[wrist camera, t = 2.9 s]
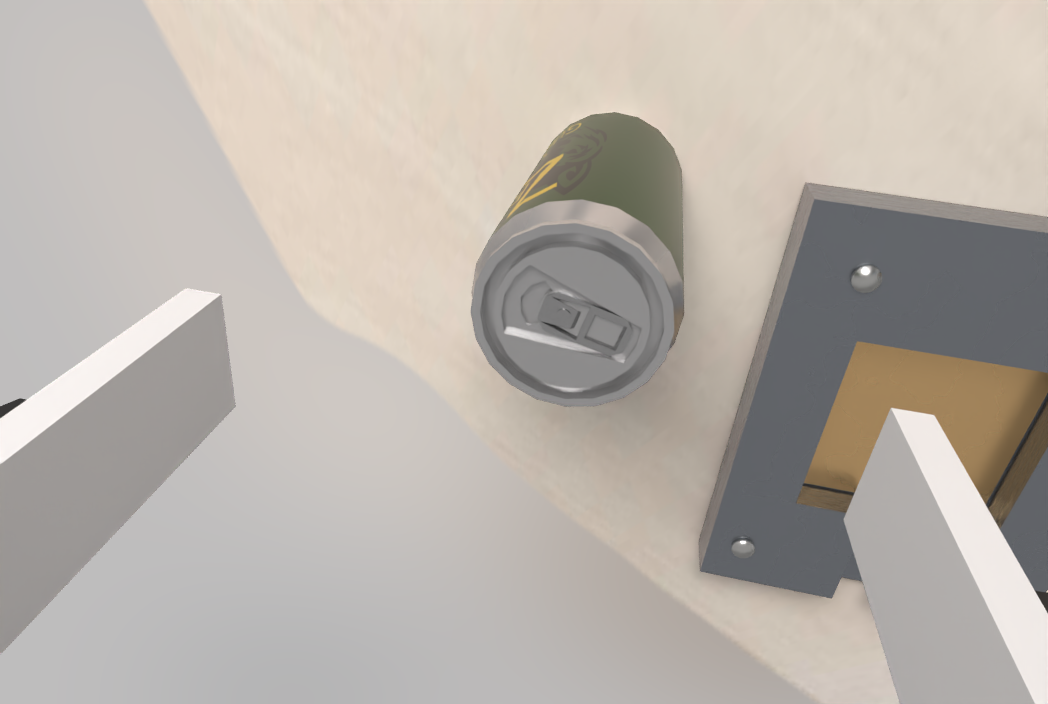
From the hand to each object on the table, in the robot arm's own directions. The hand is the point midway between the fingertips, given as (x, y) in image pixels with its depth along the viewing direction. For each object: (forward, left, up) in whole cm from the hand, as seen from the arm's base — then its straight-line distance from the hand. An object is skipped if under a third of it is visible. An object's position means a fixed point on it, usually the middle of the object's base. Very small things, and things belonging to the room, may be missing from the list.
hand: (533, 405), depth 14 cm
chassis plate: (+8, +14, -16) cm, 22 cm away
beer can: (0, 0, -16) cm, 16 cm away
